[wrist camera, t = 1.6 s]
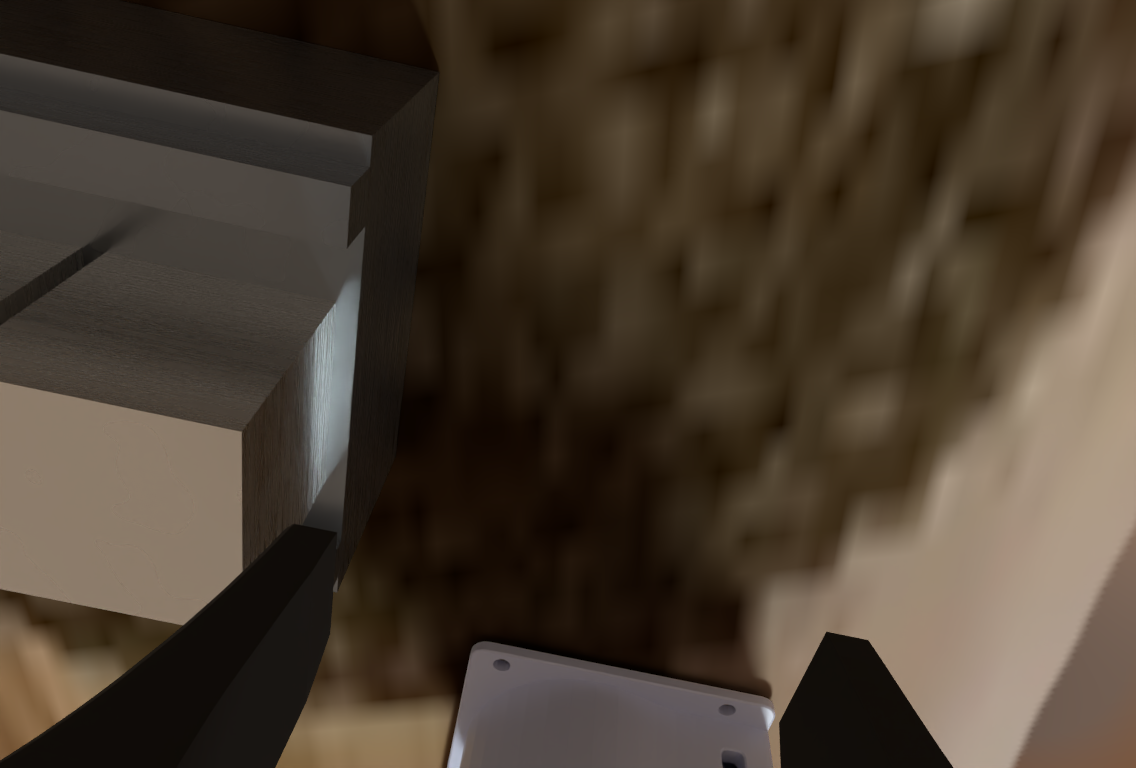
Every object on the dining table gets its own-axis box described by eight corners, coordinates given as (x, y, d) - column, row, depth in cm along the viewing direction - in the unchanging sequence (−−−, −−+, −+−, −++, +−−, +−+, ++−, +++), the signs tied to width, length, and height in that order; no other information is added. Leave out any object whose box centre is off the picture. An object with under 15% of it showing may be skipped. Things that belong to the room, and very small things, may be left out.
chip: (336, 302, 15) (242, 431, 11) (325, 480, 17) (242, 637, 13) (105, 252, 14) (-63, 368, 11) (123, 439, 17) (-13, 586, 13)
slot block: (439, 72, 17) (352, 153, 12) (395, 456, 22) (321, 627, 17) (0, -27, 17) (-279, 15, 12) (58, 386, 22) (-119, 539, 17)
